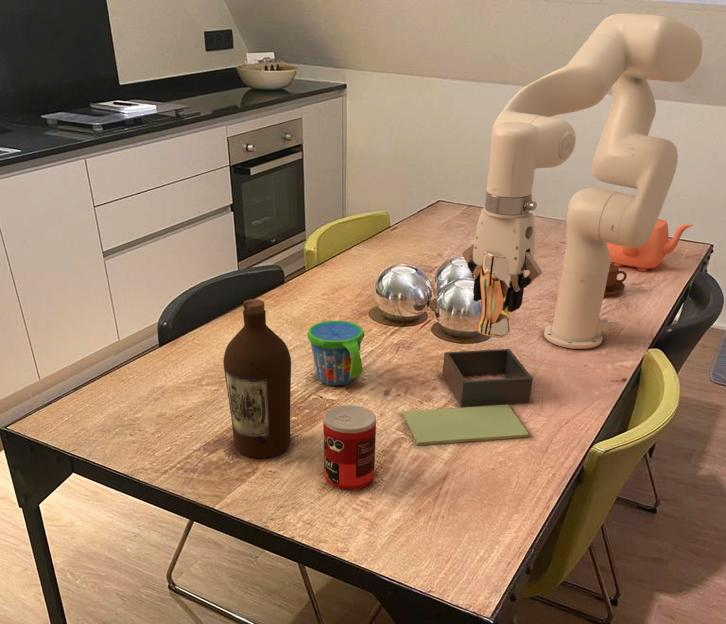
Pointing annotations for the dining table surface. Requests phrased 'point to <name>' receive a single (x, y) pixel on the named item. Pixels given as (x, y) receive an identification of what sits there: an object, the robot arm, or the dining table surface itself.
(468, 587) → the dining table surface
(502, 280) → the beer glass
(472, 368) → the basin
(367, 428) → the canned food
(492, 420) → the drying mat
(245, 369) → the olive oil
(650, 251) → the teapot
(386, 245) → the dining table surface
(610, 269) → the cup and saucer
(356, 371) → the snack cup
